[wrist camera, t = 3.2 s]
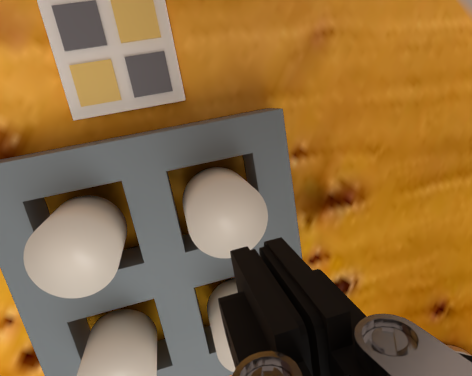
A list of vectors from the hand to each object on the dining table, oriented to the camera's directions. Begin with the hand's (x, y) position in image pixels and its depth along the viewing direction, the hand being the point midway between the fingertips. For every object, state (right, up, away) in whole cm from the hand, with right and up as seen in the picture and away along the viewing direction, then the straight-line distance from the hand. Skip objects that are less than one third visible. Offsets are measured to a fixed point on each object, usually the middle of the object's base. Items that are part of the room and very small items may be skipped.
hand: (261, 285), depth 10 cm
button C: (-10, +1, +10) cm, 14 cm away
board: (-6, -2, +14) cm, 15 cm away
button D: (-8, -7, +12) cm, 16 cm away
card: (-8, +11, +10) cm, 17 cm away
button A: (-2, +2, +11) cm, 12 cm away
